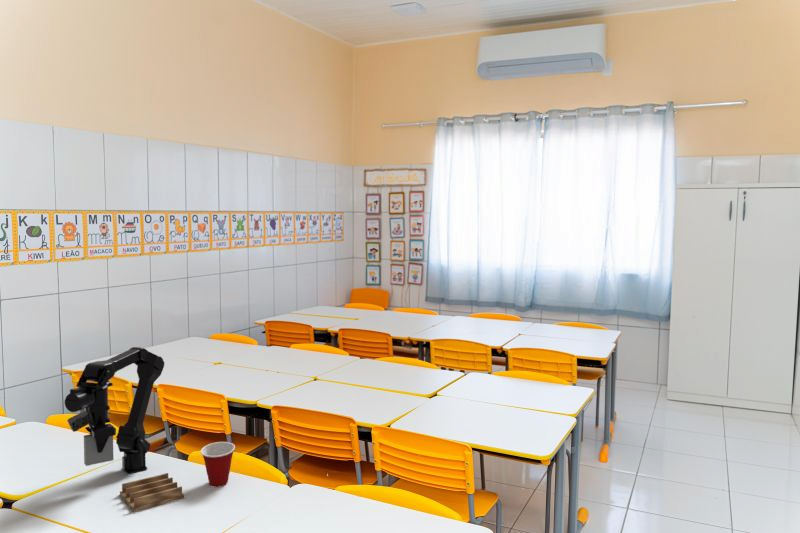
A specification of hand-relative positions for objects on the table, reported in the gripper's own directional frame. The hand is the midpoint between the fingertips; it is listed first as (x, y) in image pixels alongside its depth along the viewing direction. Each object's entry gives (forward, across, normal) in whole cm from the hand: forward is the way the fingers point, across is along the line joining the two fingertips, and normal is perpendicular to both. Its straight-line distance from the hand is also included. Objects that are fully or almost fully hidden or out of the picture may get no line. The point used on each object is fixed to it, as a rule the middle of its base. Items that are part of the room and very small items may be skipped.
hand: (98, 451), depth 197 cm
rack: (+12, +16, +12) cm, 23 cm away
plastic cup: (+12, +18, +32) cm, 39 cm away
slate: (+3, 0, 0) cm, 3 cm away
